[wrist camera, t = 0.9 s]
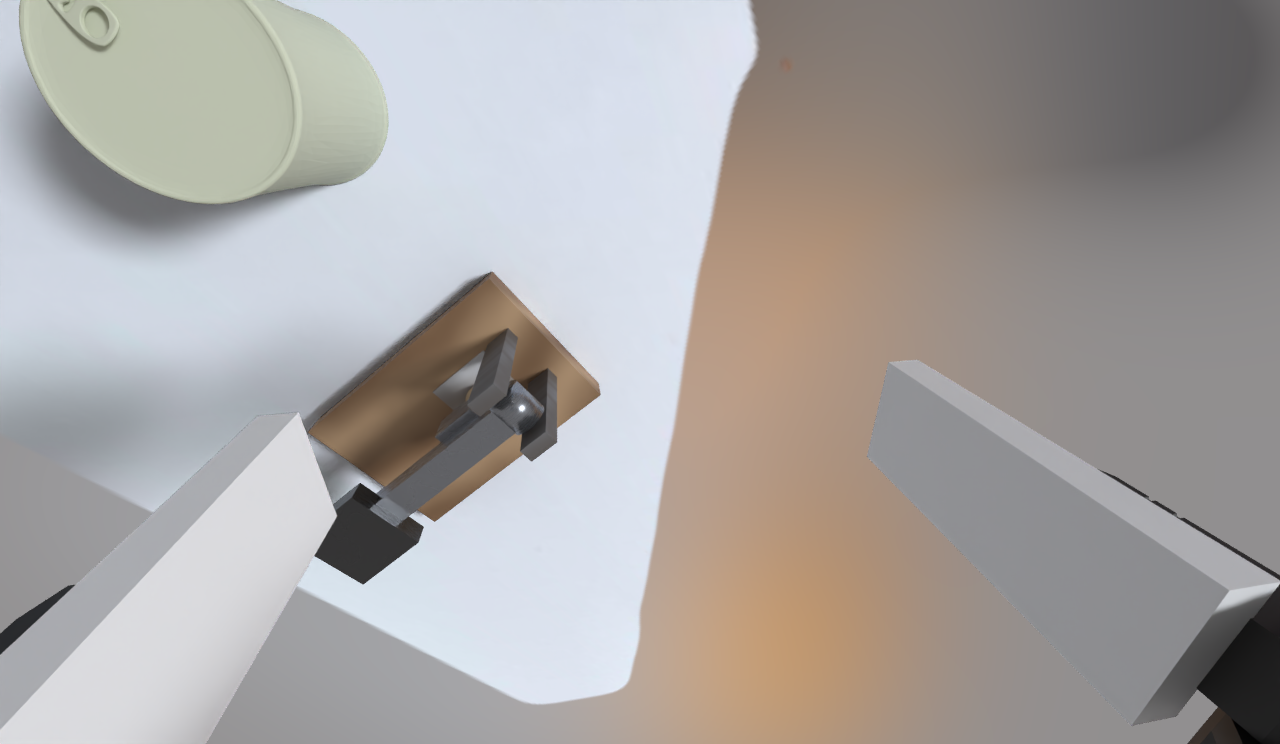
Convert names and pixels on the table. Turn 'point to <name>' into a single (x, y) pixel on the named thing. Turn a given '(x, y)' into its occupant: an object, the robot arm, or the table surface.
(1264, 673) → the robot arm
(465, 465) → the lever
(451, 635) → the table surface
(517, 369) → the base
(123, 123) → the can
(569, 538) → the table surface
